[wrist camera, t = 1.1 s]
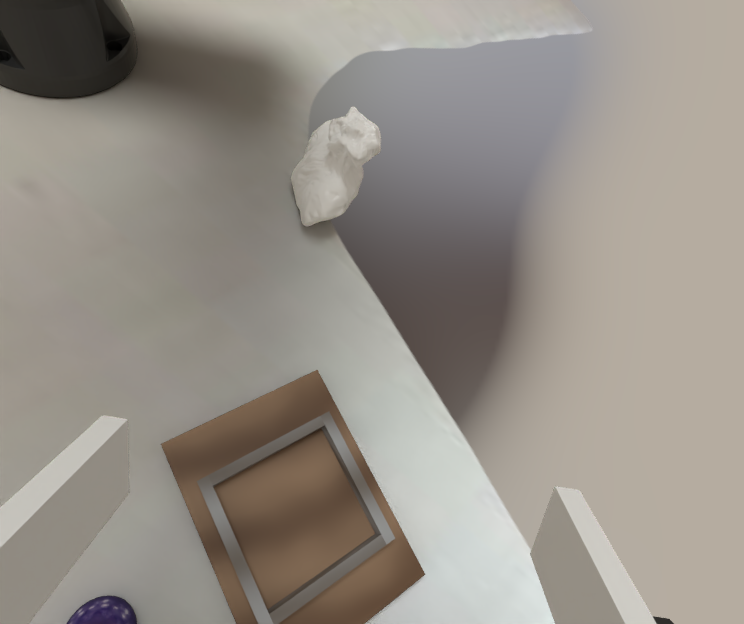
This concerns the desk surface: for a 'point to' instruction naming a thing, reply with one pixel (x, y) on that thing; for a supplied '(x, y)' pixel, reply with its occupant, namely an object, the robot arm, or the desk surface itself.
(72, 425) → the desk surface
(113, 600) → the toy lamp
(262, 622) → the plate
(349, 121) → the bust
